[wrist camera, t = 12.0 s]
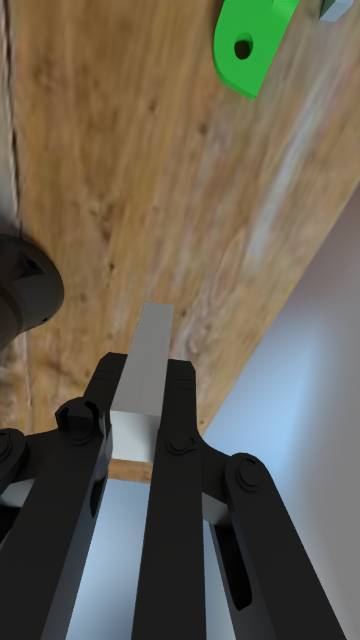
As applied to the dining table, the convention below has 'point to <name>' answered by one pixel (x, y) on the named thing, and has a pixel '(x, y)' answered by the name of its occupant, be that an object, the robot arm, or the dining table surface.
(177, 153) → the dining table surface
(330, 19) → the hub cradle
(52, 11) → the dining table surface
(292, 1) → the mechanical part
